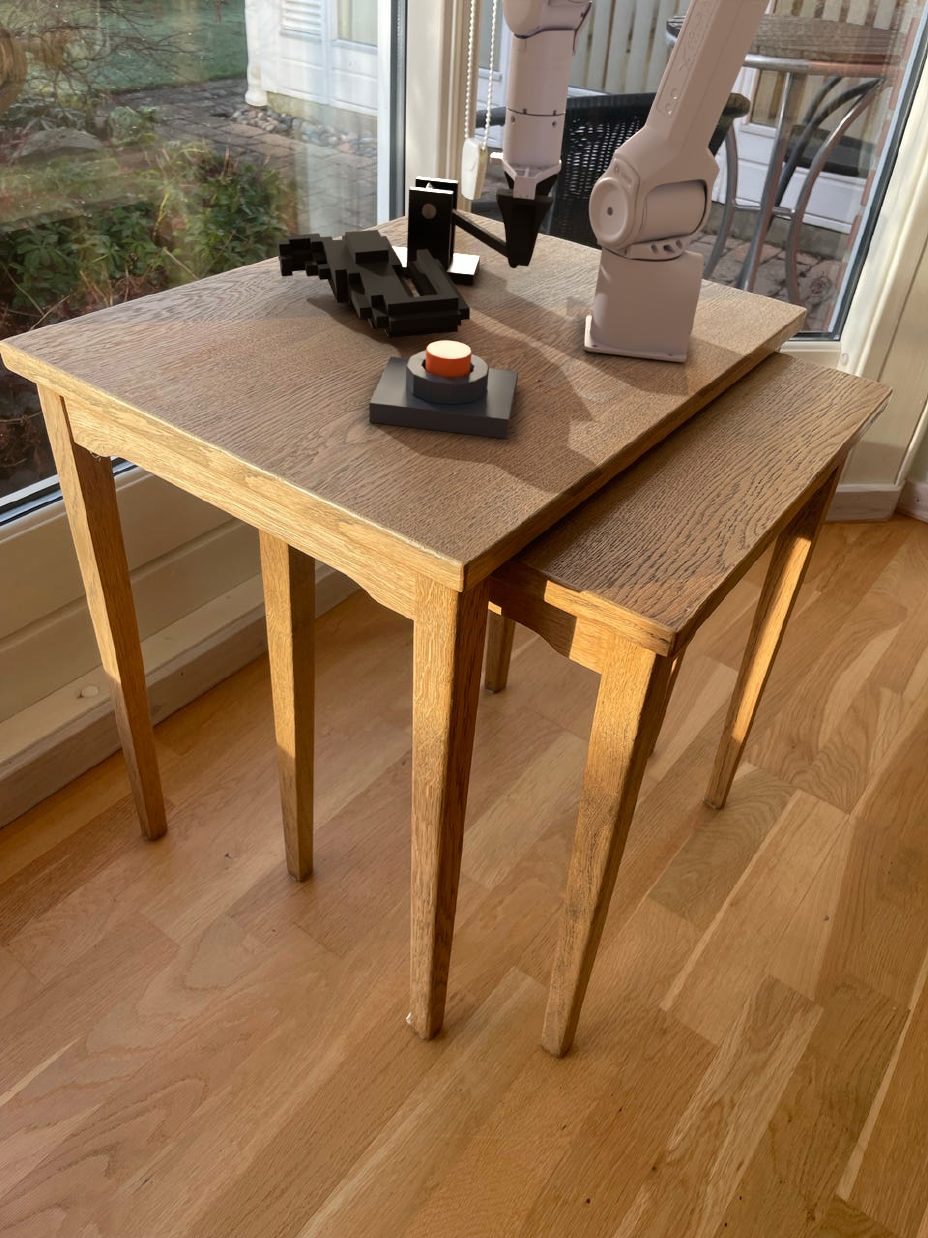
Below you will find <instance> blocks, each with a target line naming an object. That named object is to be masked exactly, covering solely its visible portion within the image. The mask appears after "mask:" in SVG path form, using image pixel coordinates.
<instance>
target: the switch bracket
mask: <svg viewBox="0 0 928 1238" xmlns="http://www.w3.org/2000/svg"><path fill="white" fill-rule="evenodd" d="M414 181H415V183H414V184H415V185H414V186H410V187H409V189H408V203H407V205H408V207H407V208H408V209H407V238H406V247H403V246H402V247H400V246H393V245H392V247H393V249H394V250H395V252H396V254H397V256H398V257H399V259H400V261H401V263H402V266H403V277H404V279H409V280H410V278H409V276H408V274H407V273H406V262H411V261H417V250H424V249H428V251H429V252H430V254H431V255H432V257H433V259H434V260H435V259H438V260H439V261H440V263H441V264H442V266H443V268H444V269H445V271H446V272H447V274H448V275H449V277H450V278H451V280H452V281H453V283H454V284H455V285H461V286H468V287H469V286H471V287H473V286H474V284H475V281H476V278H477V274H478V271H479V270H480V263H481V262H480V261H481V256H480V255H474V254H464V253H455V247H456V246H455V244H456V230H457V226H456V225H455V224H453V223H452V210H453V209H455V210H456V211H458V198H459V183H460V182H459V180H454V179H445V178H435V177H426V176H416V178H415V180H414ZM428 183H430V184H432V185H433V186H435V187H436V188H438V189H439V190H436V189H427V188H426V186H427V185H428Z"/></svg>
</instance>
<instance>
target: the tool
mask: <svg viewBox="0 0 928 1238" xmlns="http://www.w3.org/2000/svg"><path fill="white" fill-rule="evenodd" d="M392 246H393V245H392V244H391V242H390V240H389V238H388V237H387V236H386V235H381V233H380V231H379V230H378V229H370V230H357V231H345V232H344V234H343V235H341V239H333V236H332V235H331V236H329V235H328V236H321V234H320V233H317V232H316V233H303V234H292V235H291V234H290V235H286V239H279V240H277V248H276V249H277V257H278V261H279V269H280V275H281V277H293V276H294V273H293V272H304V271H305V274H306V277H307V278H309V277H318V279H319V280H320V281H325V280H327V282H328V284H329V287H330V289H331V292H332V294H333V296H334V299H335V301H336V303H337V304H342V303H343V304H344V303H348V305H349V307H350V308H351V307H352V308H353V307H354V308H355V311H356V313H357V315H358V318H359V320H367V321H368V324H369V325H370V327H371V330H372V331H374V330H384V331H385V334H386V336H387V338H388V339H401V338H410V337H420V336H429V335H438V334H439V335H440V334H450V333H458V332H459V327H460V326H462V321H469V320H470V319H471V318H470V317H471V307H470V306H469V304H468V303H467V301H466V299H465V298H464V297H463V295H462V294H461V292H460V290H459V289H458V288H457V286H456V284H454V283H453V281H452V280H451V278H450V277H449V275H448V274H447V272H446V271H445V269H444V268H443V266H442V264H441V263H440V261H439V260H438V259H435V260H434V259H433V257H432V255H431V254H430V252H429V251H428V249H424V250H417V261H411V262H406V273H407V274H408V276H409V278H410V279H409V280H410V282H411V283H412V285H413V287H414V288H415V291H416V292H417V293H418V295H417V296H415V295H414V293H413V291H412V289H411V288H410V285H409V284H408V282H407V280H406V278H404V277H403V266H402V263H401V261H400V259H399V257H398V256H397V254H396V252H395V250H394V249H393V247H394V246H393V247H392Z"/></svg>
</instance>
